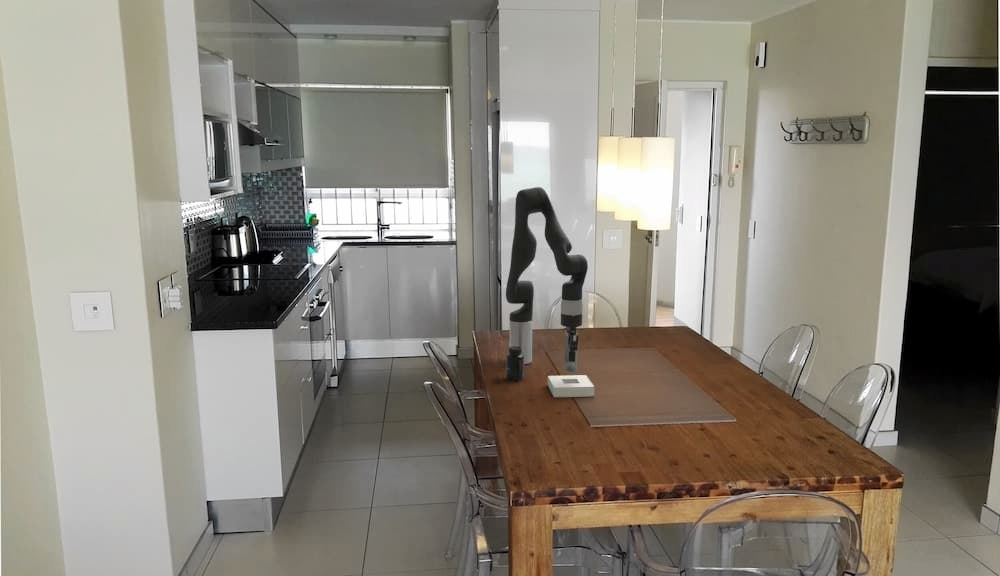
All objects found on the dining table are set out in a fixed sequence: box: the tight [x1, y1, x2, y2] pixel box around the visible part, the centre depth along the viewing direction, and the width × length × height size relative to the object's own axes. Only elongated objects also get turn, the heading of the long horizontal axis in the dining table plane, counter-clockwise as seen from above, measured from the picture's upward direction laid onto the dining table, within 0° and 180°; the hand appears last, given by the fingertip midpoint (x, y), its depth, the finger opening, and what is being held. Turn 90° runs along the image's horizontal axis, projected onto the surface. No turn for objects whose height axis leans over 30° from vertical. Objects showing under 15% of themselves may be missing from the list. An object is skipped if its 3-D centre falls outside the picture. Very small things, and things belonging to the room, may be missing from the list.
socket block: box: [547, 374, 595, 398], centre depth 257 cm, size 14×14×4 cm
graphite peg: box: [563, 335, 578, 373], centre depth 255 cm, size 4×4×12 cm
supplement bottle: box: [505, 346, 525, 382], centre depth 271 cm, size 7×7×12 cm
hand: (570, 359), depth 256 cm, fingers closed on graphite peg, 4 cm apart
